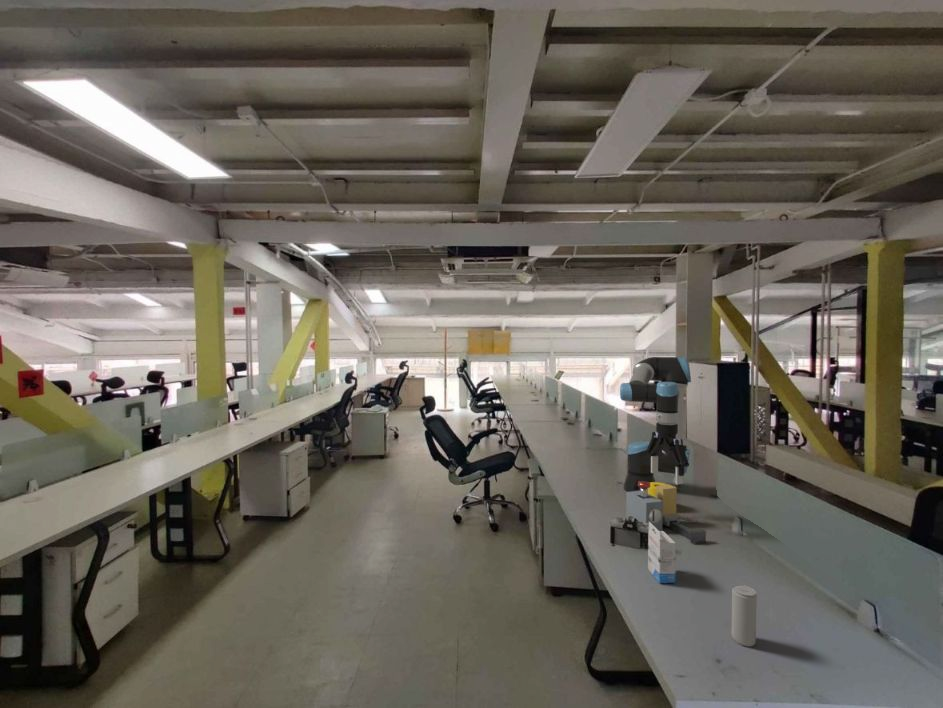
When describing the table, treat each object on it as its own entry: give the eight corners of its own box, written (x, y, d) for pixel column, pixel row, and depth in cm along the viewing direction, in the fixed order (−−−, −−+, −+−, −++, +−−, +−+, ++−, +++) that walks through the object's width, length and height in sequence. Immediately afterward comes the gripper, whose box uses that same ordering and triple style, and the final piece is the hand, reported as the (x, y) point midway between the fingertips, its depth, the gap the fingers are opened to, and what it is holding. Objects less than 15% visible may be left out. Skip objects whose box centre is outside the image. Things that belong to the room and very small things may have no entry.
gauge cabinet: (641, 518, 171) (641, 490, 171) (664, 531, 159) (664, 502, 158) (625, 519, 169) (626, 492, 169) (647, 534, 157) (647, 503, 157)
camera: (658, 543, 150) (659, 514, 149) (656, 554, 142) (657, 524, 141) (612, 534, 157) (612, 507, 156) (607, 544, 149) (607, 515, 148)
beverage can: (726, 634, 103) (727, 584, 103) (745, 633, 103) (746, 583, 103) (740, 648, 98) (741, 596, 98) (760, 647, 98) (761, 595, 98)
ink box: (676, 583, 125) (677, 532, 124) (659, 583, 125) (659, 532, 124) (663, 568, 133) (663, 520, 133) (647, 568, 133) (647, 520, 133)
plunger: (645, 500, 167) (645, 480, 167) (652, 504, 163) (652, 484, 163) (635, 501, 166) (635, 481, 166) (642, 505, 162) (642, 485, 161)
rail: (660, 516, 172) (660, 506, 172) (705, 542, 150) (705, 531, 150) (649, 518, 171) (649, 508, 171) (693, 544, 149) (694, 532, 149)
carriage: (666, 516, 171) (666, 482, 170) (681, 524, 163) (681, 489, 162) (651, 518, 169) (651, 484, 168) (665, 526, 161) (665, 490, 161)
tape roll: (640, 505, 185) (640, 483, 184) (659, 502, 188) (659, 481, 188) (657, 514, 175) (657, 491, 175) (677, 511, 178) (677, 488, 178)
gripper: (637, 417, 176) (637, 469, 177) (682, 430, 152) (682, 490, 153) (653, 416, 178) (652, 467, 179) (700, 429, 154) (699, 488, 155)
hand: (666, 478), depth 166 cm, fingers open, 13 cm apart
